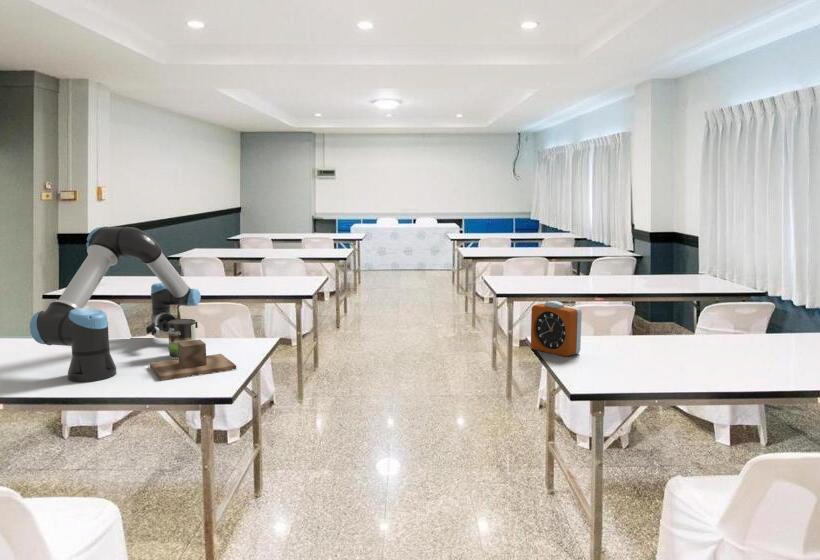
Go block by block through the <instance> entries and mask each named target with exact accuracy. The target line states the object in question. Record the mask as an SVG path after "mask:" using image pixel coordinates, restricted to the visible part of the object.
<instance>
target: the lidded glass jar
mask: <svg viewBox="0 0 820 560" xmlns="http://www.w3.org/2000/svg"><path fill="white" fill-rule="evenodd" d="M175 319H176V318H175ZM195 322H197V321H196V319H193V318H177V319H176V320H171V321H168V332H167V333H168V334H167V335H168V348H169V349H168V351H169V356H168V357H169V359H171V360H177V359H179V356H178V342H184V341H192V340H197V331H196V330H197V328H195Z"/></svg>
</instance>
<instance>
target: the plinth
mask: <svg viewBox="0 0 820 560" xmlns="http://www.w3.org/2000/svg"><path fill="white" fill-rule="evenodd" d="M206 347H207V344H206V343H205V341H203V340H202V339H196V340H192V341H184V342H178V356H179V359H178V360H177V359H171V360H164V361H159V362H158V361H157V362H150V363H149V368H150V369H151V371H152V372H153V373H154V374H155V376H156V377H157V378H158V379H159V381H162V380H163V381H168V380H174V379H175V378H176V379H181V378H182V377H183V378H188V377H187V376H189V377H193V376H192V375H196V376H200V375H199V374H203V375H206V374H205V373H209V374H213V373H212V372H216V373H220V372H219V371H223V372H227V371H226V370H229V371H233V370H232V369H236V370H237V365H236V364H235V363H233V362H232V361H231V360H230V359H229V358H227V357H226V356H225V355H223V354H222V353H217V354H211V355H207V348H206Z"/></svg>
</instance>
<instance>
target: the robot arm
mask: <svg viewBox="0 0 820 560" xmlns="http://www.w3.org/2000/svg"><path fill="white" fill-rule="evenodd" d="M86 241H87V242H86V244H85V245H86V252H87V257H86V258H85V260H83V262H82V264H81V265H80V267H79V268H78V269H77V270H76V273H75V274H74V276H73V277H72V278H71V280H70V282H69V283H68V285H67V286H66V287H65V289H64V290H63V292H62V294H61V295H60V297H59V298H58V300H54V301H51V302H50V303H49V304H48V306H47V308H46V309H45V310H40V311H36V312H35V313H34V314H33V315H32V317H31V318H30V322H29V330H30V335H31V337H32V338H33V339H34V341H35V342H36V343H38V344H41V345H47V346H65V347H66V346H67V347H71V355H72V356H71V360H70V362H69V367H68V370H67V379H68V380H69V381H71V382H78V383H79V382H80V383H84V382H86V383H87V382H94V381H95V382H96V381H102V380H106V379H109V378H111V377H114V376H115V375H117V365H116V364H115V361H114V359H113V357H112V355H111V351H110V340H109V337H110V336H109V321H108V317H107V313H106V312H105V311H103V310H101V309H97V308H91V307H88V308H87V307H86V306H87V304H88V302H89V301H90V299H91V297H92V295H93V294H94V292H95V291H96V289H97V287H98V286H99V285H100V283H101V281H102V279H103V278H104V277H105V275H106V273H107V272H108V271H109V268H110V267H111V266H112V267H113V266H116V265H117V264H118V262H119V260H120V259H121V258H122V257H125V258H127V257H128V258H130V257H131V258H135V259H138V260H139V261H140V263H142V264H144V265H147V267H148V268H149V269H150V270H151V272H152V274H154V275H155V276H156V277H157V279H158V280H159V281H160V282H159V283H153V284H152V285H151V286H150V298H151V299H150V300H151V315H150V319H151V321H152V322H151V324H149V325H148V326H146V327H145V328H146V334H150V333H151V336H154V335H156V336H157V337H160V336H161V333H160V332H161V331H162V332H166V333H168V321H171V320H176V317H175V316H174V315H172V314H171V306H185V307H196V306H198V305H199V304H200V301H201V299H202V297H201V291H199V290H198V289H196V288H190V286H189V285H188V284H187V283H186V281H185V280H184V279H183V277H182V276H181V275H180V273H179V272H178V271H177V270H176V269H175V267H174V266H173V265H172V263H170V261H169V259H167V257H166V256H165V255H164V253H163V248H162V247H161V245H160V244H159V243H158V241H156V239H154V238H153V237H152V236H151V235H149V234H148V233H146V232H145V231H143V230H141V229H140V228H137V227H132V226H125V227H124V226H99V227H95V228H94V229H92V230H91V231H90V232H89V234H88V236H87V238H86ZM85 307H86V308H85ZM198 326H199V325H198V322H197V321H196V322H195V328H196V329H198Z"/></svg>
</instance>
